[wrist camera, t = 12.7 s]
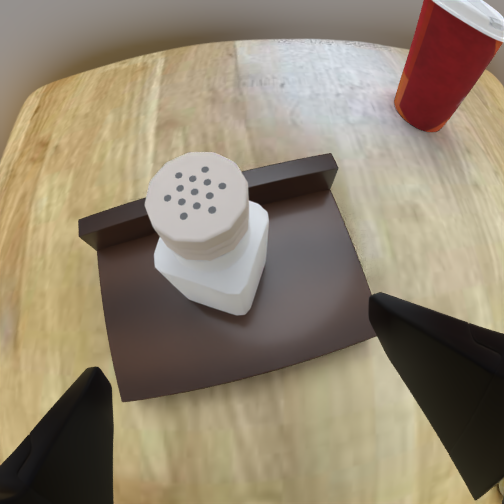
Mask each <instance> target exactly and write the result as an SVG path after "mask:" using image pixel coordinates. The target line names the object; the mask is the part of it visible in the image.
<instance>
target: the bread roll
mask: <svg viewBox="0 0 504 504" xmlns="http://www.w3.org/2000/svg"><path fill="white" fill-rule="evenodd" d="M499 489H500V492H501V494H502V496H504V479H503V480H501V481H500V482H499Z"/></svg>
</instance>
